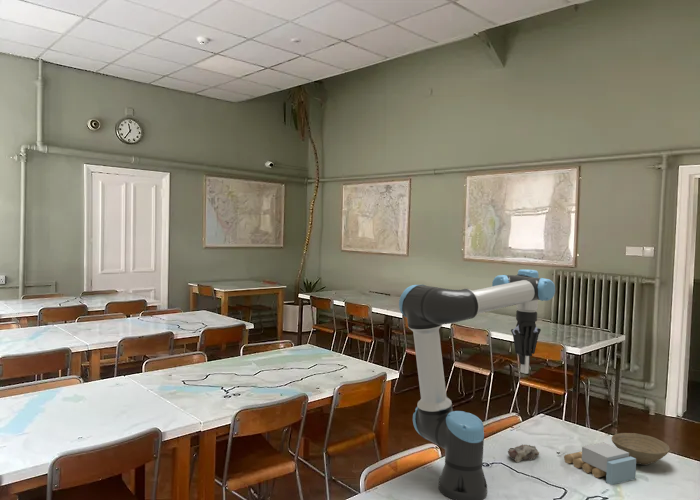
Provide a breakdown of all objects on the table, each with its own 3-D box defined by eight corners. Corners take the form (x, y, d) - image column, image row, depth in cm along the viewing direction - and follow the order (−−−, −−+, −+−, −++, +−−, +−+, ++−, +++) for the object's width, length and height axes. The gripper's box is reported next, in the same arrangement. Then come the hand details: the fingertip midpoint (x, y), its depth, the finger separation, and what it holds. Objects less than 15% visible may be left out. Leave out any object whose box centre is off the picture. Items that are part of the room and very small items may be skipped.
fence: (611, 485, 170) (612, 464, 169) (606, 482, 171) (606, 461, 171) (635, 479, 175) (636, 458, 175) (629, 476, 176) (630, 456, 176)
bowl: (610, 466, 185) (611, 444, 184) (611, 448, 201) (611, 428, 201) (670, 478, 176) (671, 455, 176) (666, 459, 192) (667, 438, 192)
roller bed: (599, 479, 174) (599, 470, 174) (563, 461, 187) (564, 453, 187) (623, 473, 179) (623, 464, 179) (586, 456, 192) (587, 448, 192)
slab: (606, 472, 172) (607, 457, 172) (581, 460, 181) (582, 446, 181) (628, 467, 177) (629, 452, 176) (603, 455, 186) (603, 442, 185)
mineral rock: (532, 451, 196) (532, 439, 196) (546, 459, 189) (546, 447, 189) (499, 455, 191) (499, 443, 191) (512, 464, 184) (513, 451, 184)
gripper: (532, 308, 199) (529, 369, 200) (506, 309, 194) (504, 371, 194) (547, 311, 193) (544, 373, 193) (520, 312, 187) (518, 376, 187)
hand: (524, 372), depth 194 cm, fingers closed
